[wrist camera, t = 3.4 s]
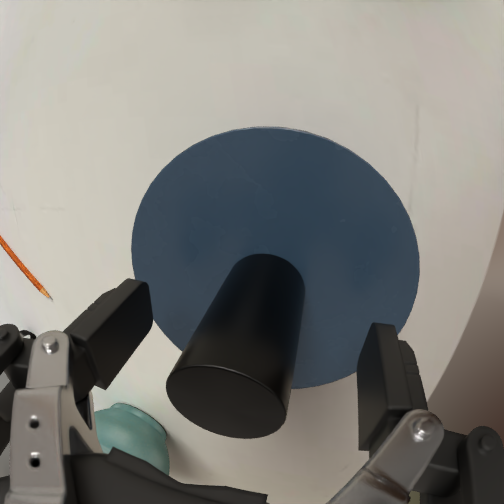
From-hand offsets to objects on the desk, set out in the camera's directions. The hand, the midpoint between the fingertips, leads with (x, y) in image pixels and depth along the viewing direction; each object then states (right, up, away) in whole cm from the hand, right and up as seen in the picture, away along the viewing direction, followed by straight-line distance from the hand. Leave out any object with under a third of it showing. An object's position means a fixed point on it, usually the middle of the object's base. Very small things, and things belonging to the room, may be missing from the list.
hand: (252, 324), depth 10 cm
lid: (+1, +1, +3) cm, 3 cm away
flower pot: (-17, -23, +28) cm, 40 cm away
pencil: (-31, +3, +20) cm, 37 cm away
